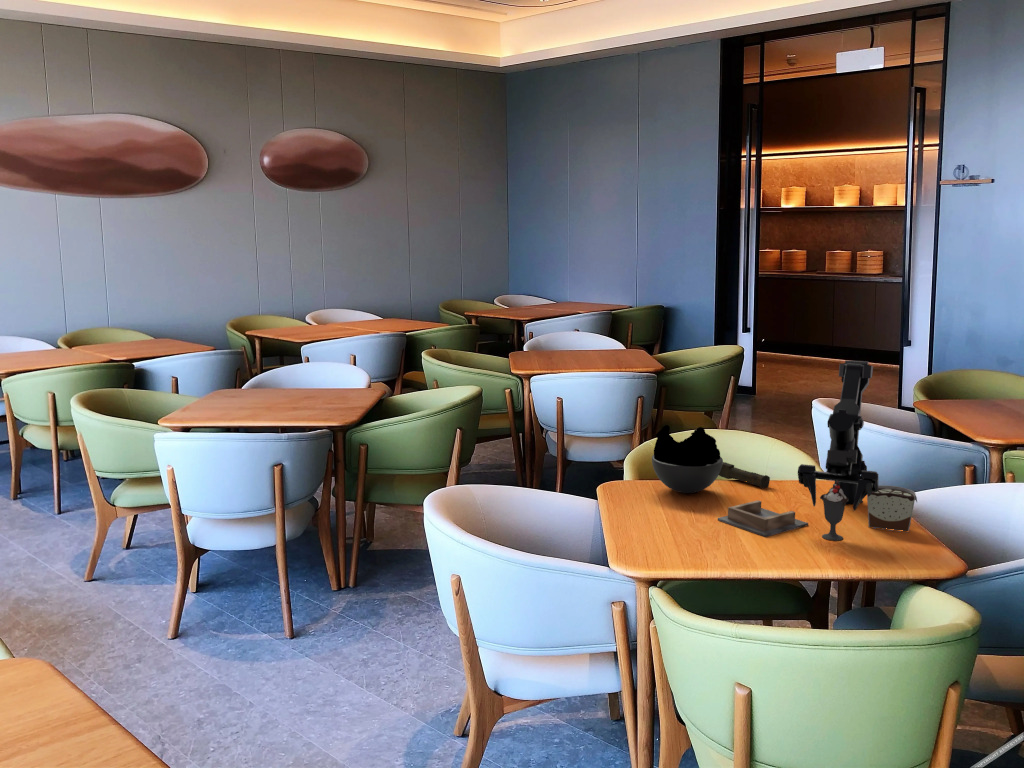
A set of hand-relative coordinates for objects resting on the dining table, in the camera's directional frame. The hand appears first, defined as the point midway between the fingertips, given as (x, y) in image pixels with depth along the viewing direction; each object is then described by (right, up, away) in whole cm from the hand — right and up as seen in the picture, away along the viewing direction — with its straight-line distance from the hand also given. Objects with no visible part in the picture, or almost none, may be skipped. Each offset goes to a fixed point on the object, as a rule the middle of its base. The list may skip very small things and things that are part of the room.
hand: (833, 507), depth 227 cm
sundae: (0, -8, +2) cm, 8 cm away
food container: (+18, -6, +11) cm, 22 cm away
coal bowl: (-28, -1, +42) cm, 50 cm away
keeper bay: (-14, -6, +14) cm, 20 cm away
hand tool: (-10, +1, +52) cm, 53 cm away
